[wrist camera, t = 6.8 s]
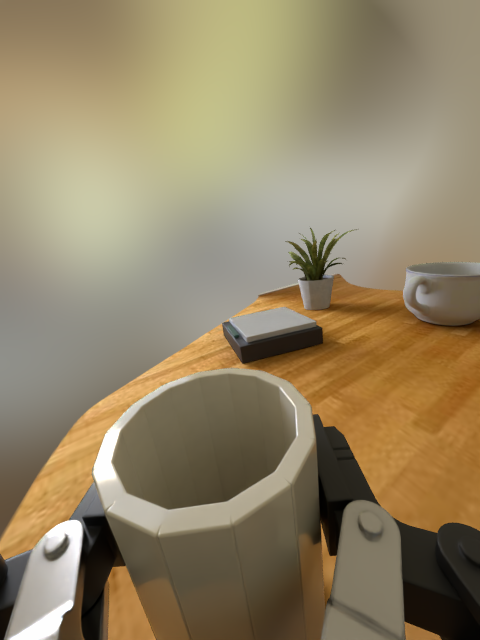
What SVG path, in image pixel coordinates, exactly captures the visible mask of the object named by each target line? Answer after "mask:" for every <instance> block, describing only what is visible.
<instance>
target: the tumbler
mask: <svg viewBox="0 0 480 640" xmlns="http://www.w3.org/2000/svg"><path fill="white" fill-rule="evenodd" d="M92 477H93V480H94V483H95V486H96V489H97V492H98V495H99V498H100V502H101V505H102V508H103V511H104V513H105V516H106V518H107V521H108V523H109V526H110V528H111V531H112V533H113V535H114V538H115V540H116V543H117V545H118V548H119V550H120V553H121V555H122V557H123V560H124V562H125V565H126V567H127V570H128V572H129V575H130V577H131V579H132V582H133V584H134V587H135V589H136V592H137V594H138V596H139V599H140V601H141V604H142V606H143V609H144V611H145V614H146V616H147V618H148V621H149V623H150V626H151V628H152V631H153V633H154V636H155V638H156V640H320V639H321V633H322V627H323V620H324V615H325V599H324V580H323V560H322V541H321V522H320V502H319V483H318V464H317V444H316V434H315V427H314V421H313V414H312V407H311V405H310V403H309V402H308V401H307V400H306V399H305V398H304V397H303V396H302V395H301V393H300V392H299V391H298V390H297V389H296V388H295V387H294V386H293V385H292V384H291V383H289V381H286V380H284V379H281V378H279V377H276V376H274V375H272V374H269V373H267V372H264V371H261V370H250V369H239V368H225V369H218V370H211V371H204V372H198V373H194V374H192V375H189V376H186V377H183V378H181V379H178V380H175V381H172V382H169V383H167V384H165V385H163V386H161V387H159V388H158V389H156V390H155V391H153V392H151V393H150V394H148V395H147V396H145V397H143V398H142V399H140V400H139V401H137V402H135V403H134V404H133V405H131V407H130V408H129V409H128V410H127V411H126V412H125V413H124V414H123V415H122V416H121V417H120V418H119V419H118V420H117V422H116V423H115V424H114V425H113V426H112V427H111V428H110V429H109V430H108V431H107V433H106V434H105V436H104V439H103V442H102V444H101V447H100V450H99V453H98V455H97V458H96V461H95V464H94V466H93V469H92Z"/></svg>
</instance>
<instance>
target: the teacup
mask: <svg viewBox="0 0 480 640" xmlns="http://www.w3.org/2000/svg"><path fill="white" fill-rule="evenodd" d="M406 272H407V275H406V283H405V287H404V291H403V297H404V301H405V305H406V307H407V309H408V310H409V311H410V312H412V313H413V314H414V315H415V316H416V317H417V318H418V319H420V320H422V321H425V322H429V323H433V324H438V325H449V326H459V325H466V324H470V323H472V322H474V321H476V320H479V319H480V263H467V262H442V263H426V264H418V265H412V266H409V267H407V268H406Z"/></svg>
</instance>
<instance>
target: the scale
mask: <svg viewBox="0 0 480 640" xmlns="http://www.w3.org/2000/svg"><path fill="white" fill-rule="evenodd" d="M222 325H223V331H224V336H225V337H226V339H227V340H228V342H229V343H230V345H231V346H232V348H233V350H234V351H235V353H236V354H237V356H238V357H239V359H240V360H241V362H242V363H247V362H251V361H255V360H259V359H263V358H267V357H270V356H274V355H278V354H282V353H286V352H290V351H294V350H298V349H302V348H306V347H310V346H314V345H318V344H322V343H323V335H322V327H320V326H317V325H316V321H314V320H312V319H310V318H308V317H306V316H303V315H301V314H299V313H297V312H295V311H293V310H290V309H288V308H286V307H281V308H276V309H271V310H267V311H262V312H257V313H252V314H247V315H243V316H238V317H233V318H229V322H224V323H222Z"/></svg>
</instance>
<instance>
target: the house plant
mask: <svg viewBox="0 0 480 640" xmlns="http://www.w3.org/2000/svg"><path fill="white" fill-rule="evenodd" d="M310 229H311V228H310ZM351 231H352V230H351ZM311 232H312V237H313V245H312V244H311V243H310V242H309V241H307V240H304V239H301V240H303V241H304V242H305V244H306V245H307V248H308V251H309V254H310V257H311V260H312V263H311V261H310V260H309V257H308V255H307V254H306V253H305V251H304V250H302V249H301V248H300V247H299V246H298V245H297V244H295V243H293V242H289V241H288V242H289V243H290V244H292V245H293V246H294V247H295V249H296V250H298V251H299V252H300V254H301V255H302V257H303V258H304V259H305V261H306V262H304V261H303V260H302V259H301V257H299V256H298V255H296V254H295V253H293V252H289V254H291V257H292V258H293V259H294V260H295V261H290V262H292V263H296V264H299V265H300V266H301V267H302V269H300V270H302V271H303V272H304V274H305V277H302V278H299V279H298V281H299V286H300V290H301V295H302V299H303V303H304V308H305V309H308V310H321V309H326V308H328V307H329V306H330V300H331V293H332V286H333V279H334V276H332V275H324V273H325V271H326V270H327V268H328V267H330V266H333V265H336V264H342V263H334V264H331V263H332V262H333V261H334V260H336V259H338V258H336V259H334V260H332V261H331V262H330V263H329V264H328V266H327V267H326V268H325V270H324V266H325V263H326V262H327V261H326V260H327V258H328V256H329V253H330V251H331V250H332V248H333V246H334V245H335V244H336V242H337V241H338V240H339V239H340V238H341V237H342V236H343V235H345V234H346V233H348V232H346V233H344V234H342V235H341V236H340V237H339V238H338V239H334V238H335V237H336V236H337V235H335V236H334V238H333V239H332V241H331V242H330V243H329V245H328V246H327V248H326V251H325V253H324V256H323V258H322V252H323V248H324V245H325V242H326V240H327V238H328V236H329V234H330V233H328V234H326V235H325V236H324V237H323V238H322V240H321V242H320V245H319V251H318V256H317V245H316V243H317V241H316V240H315V236H314V233H313V231H312V229H311ZM349 232H350V231H349ZM321 258H322V259H321ZM292 263H291V264H292ZM291 264H290V265H291ZM312 264H313V265H312ZM330 264H331V265H330ZM294 269H299V268H294Z"/></svg>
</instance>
